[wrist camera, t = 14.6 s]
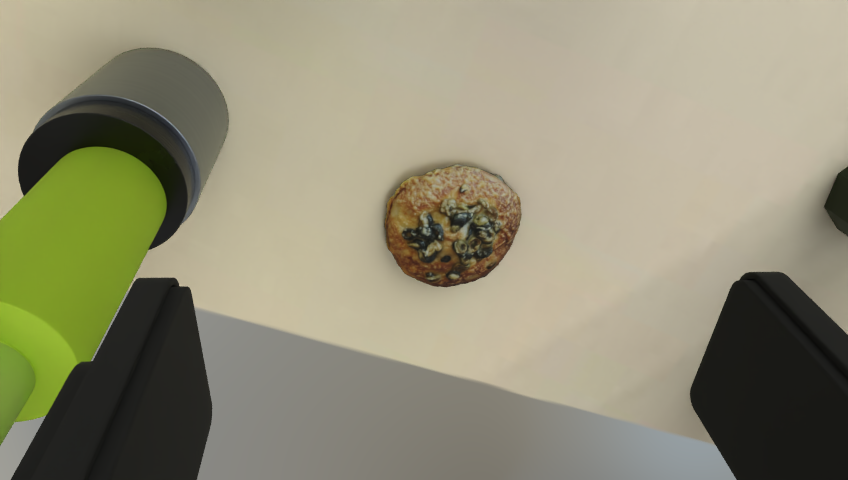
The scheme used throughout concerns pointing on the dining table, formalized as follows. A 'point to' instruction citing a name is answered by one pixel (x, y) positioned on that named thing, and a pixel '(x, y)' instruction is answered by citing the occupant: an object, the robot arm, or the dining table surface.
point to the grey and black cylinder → (139, 126)
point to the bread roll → (451, 225)
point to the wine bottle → (839, 202)
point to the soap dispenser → (69, 270)
